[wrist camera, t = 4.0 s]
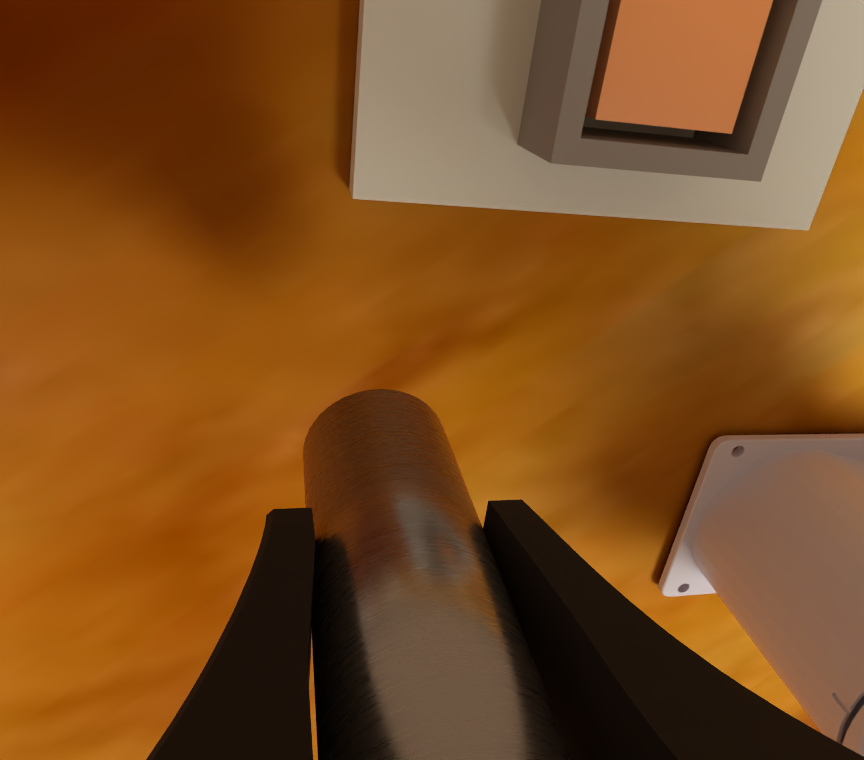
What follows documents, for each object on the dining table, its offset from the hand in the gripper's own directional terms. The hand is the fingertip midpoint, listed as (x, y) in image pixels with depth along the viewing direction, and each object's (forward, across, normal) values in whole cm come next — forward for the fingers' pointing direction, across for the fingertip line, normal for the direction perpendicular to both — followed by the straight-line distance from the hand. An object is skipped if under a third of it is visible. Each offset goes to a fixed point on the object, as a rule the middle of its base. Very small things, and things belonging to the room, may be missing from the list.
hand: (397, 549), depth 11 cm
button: (+8, -7, -8) cm, 13 cm away
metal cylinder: (+3, 0, 0) cm, 3 cm away
